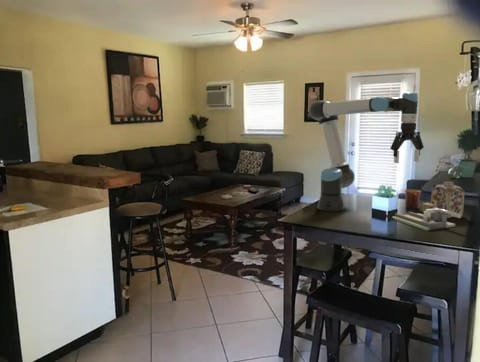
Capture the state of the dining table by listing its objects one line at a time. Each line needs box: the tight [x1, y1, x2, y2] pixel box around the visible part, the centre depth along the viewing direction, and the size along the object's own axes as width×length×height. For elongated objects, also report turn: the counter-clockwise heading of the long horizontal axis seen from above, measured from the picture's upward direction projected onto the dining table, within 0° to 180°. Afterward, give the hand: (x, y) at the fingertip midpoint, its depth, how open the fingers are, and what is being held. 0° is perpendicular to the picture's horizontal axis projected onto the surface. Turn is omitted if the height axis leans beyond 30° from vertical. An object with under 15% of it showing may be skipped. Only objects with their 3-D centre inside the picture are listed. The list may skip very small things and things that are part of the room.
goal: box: [420, 218, 447, 231], centre depth 186 cm, size 6×10×3 cm, turn 110°
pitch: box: [391, 211, 456, 231], centre depth 195 cm, size 23×18×3 cm
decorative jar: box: [430, 181, 465, 219], centre depth 208 cm, size 12×12×18 cm
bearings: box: [430, 212, 448, 222], centre depth 192 cm, size 7×3×6 cm, turn 20°
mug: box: [404, 188, 422, 210], centre depth 224 cm, size 12×9×10 cm
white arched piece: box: [421, 202, 463, 223], centre depth 189 cm, size 21×10×7 cm, turn 20°
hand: (406, 162), depth 208 cm, fingers open, 13 cm apart
